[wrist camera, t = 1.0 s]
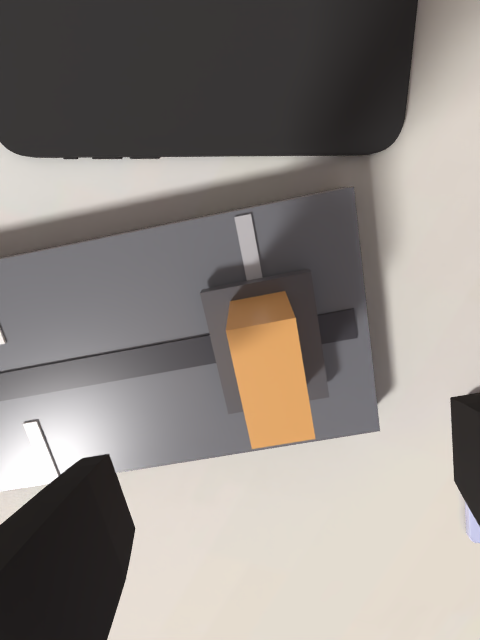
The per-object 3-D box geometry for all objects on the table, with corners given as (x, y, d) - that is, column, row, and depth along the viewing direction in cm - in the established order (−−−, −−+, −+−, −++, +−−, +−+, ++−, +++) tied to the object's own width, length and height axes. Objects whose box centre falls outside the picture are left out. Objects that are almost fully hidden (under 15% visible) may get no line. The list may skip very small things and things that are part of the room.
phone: (401, 156, 15) (-4, 158, 15) (393, 158, 16) (8, 160, 16) (429, -101, 12) (-50, -95, 13) (418, -84, 13) (-32, -78, 13)
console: (343, 187, 15) (354, 186, 14) (369, 412, 18) (380, 432, 17) (-131, 284, 17) (-168, 293, 15) (-36, 478, 20) (-60, 502, 18)
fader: (308, 268, 15) (329, 294, 11) (326, 390, 16) (349, 447, 12) (201, 289, 15) (187, 320, 11) (228, 406, 16) (223, 467, 13)
